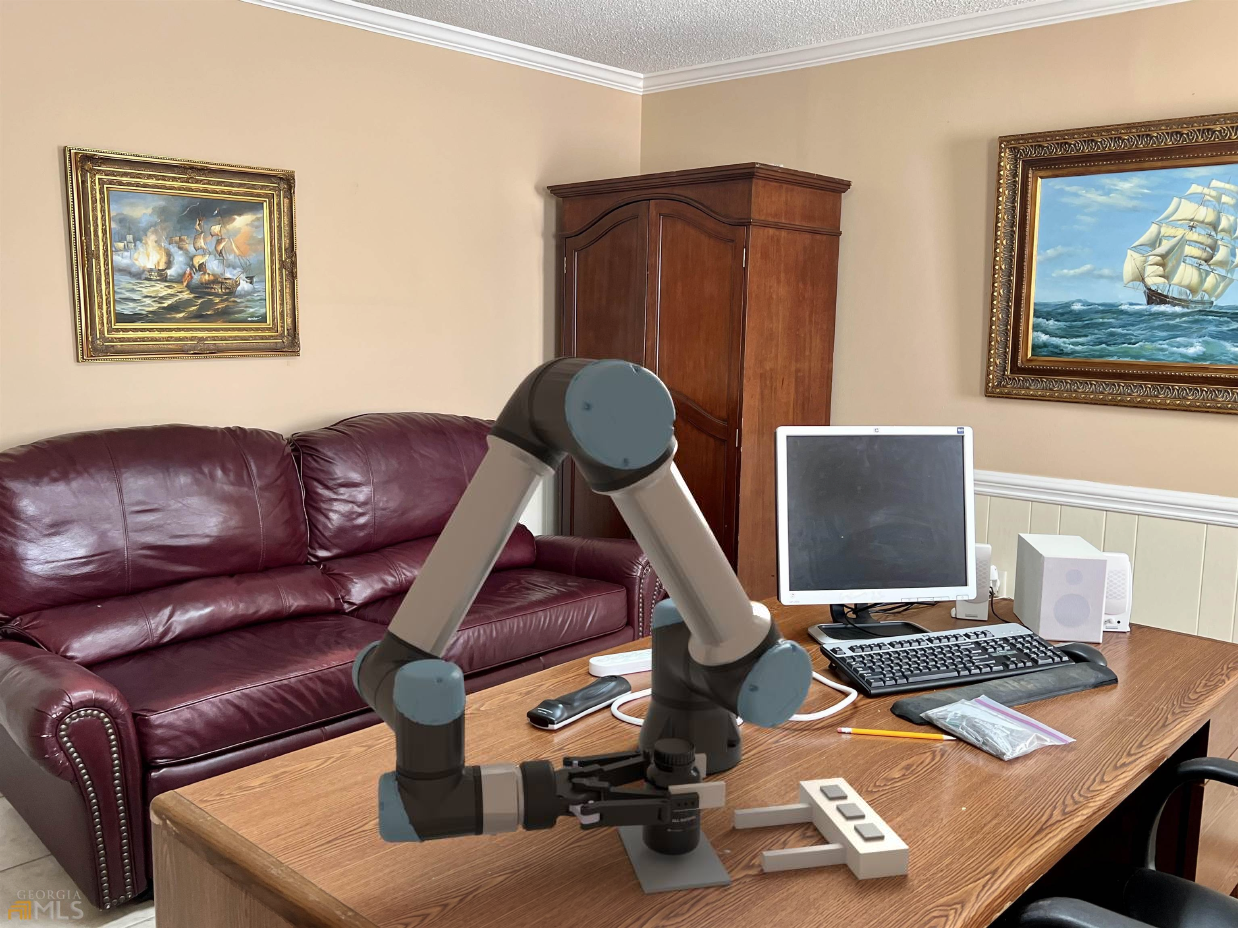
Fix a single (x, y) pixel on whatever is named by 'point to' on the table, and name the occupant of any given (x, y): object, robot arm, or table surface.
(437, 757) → the robot arm
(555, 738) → the table surface
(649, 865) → the rubber mat
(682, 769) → the supplement bottle
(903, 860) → the power strip dock
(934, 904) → the table surface
